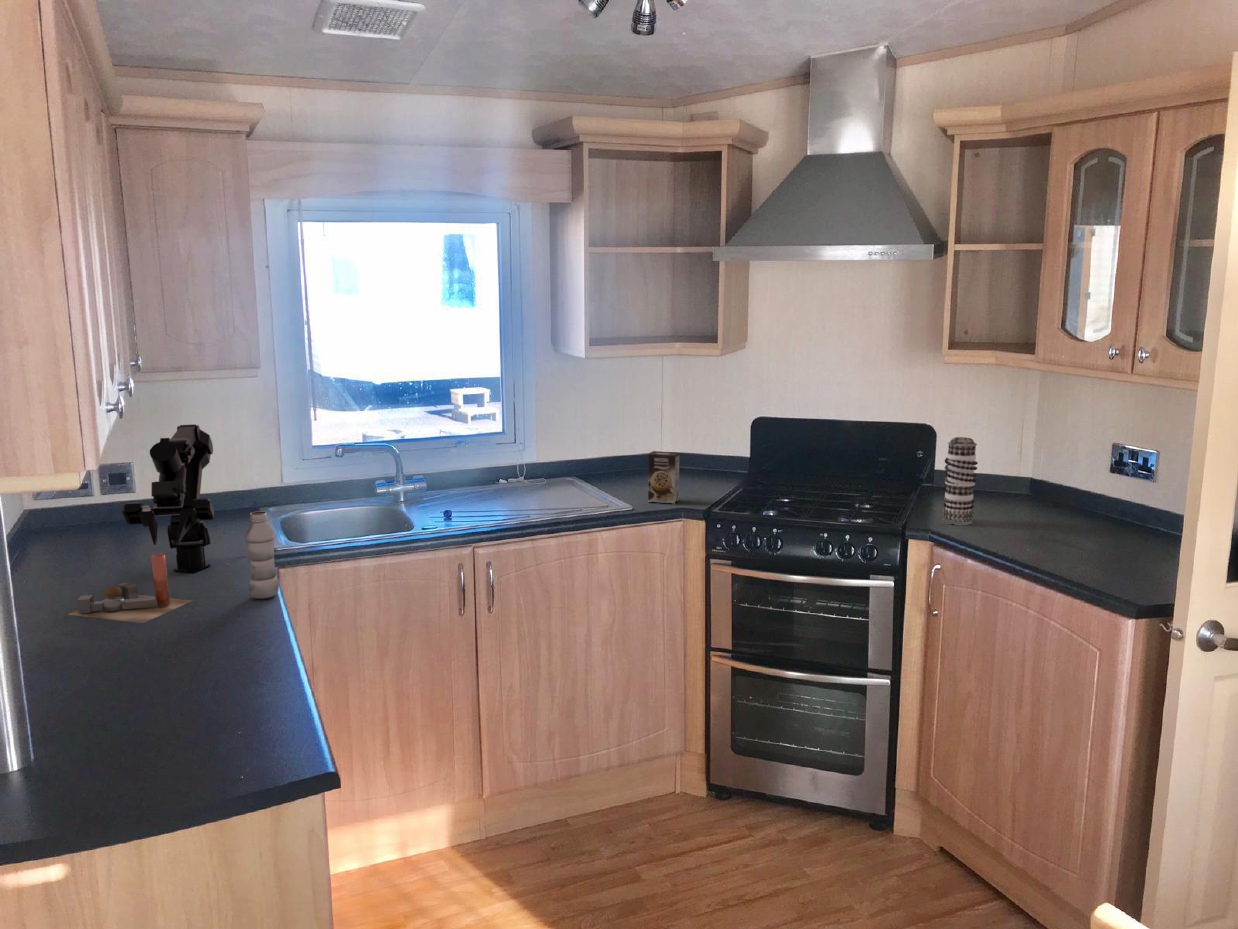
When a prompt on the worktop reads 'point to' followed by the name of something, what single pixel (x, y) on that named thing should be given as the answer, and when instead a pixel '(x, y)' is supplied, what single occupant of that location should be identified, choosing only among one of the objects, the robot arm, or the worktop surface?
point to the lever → (119, 603)
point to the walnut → (113, 592)
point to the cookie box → (663, 477)
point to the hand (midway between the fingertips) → (166, 543)
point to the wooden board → (137, 613)
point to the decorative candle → (960, 479)
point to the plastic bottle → (261, 557)
